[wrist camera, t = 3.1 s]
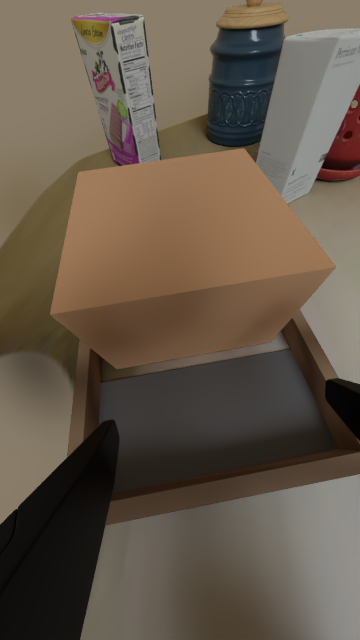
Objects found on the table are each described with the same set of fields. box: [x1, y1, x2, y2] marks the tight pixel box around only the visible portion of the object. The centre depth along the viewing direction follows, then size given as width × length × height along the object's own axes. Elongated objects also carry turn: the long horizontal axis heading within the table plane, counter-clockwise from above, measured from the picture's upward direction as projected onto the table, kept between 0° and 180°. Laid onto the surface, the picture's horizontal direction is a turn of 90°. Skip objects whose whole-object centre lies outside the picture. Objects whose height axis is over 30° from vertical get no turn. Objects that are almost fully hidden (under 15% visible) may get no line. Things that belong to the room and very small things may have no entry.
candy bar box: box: [71, 13, 161, 166], centre depth 32 cm, size 11×5×16 cm, turn 40°
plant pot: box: [316, 84, 360, 182], centre depth 29 cm, size 13×13×12 cm
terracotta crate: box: [50, 148, 336, 369], centre depth 18 cm, size 15×15×10 cm
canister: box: [207, 0, 289, 146], centre depth 36 cm, size 13×13×18 cm
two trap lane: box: [67, 309, 360, 525], centre depth 23 cm, size 42×20×3 cm, turn 9°
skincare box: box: [256, 29, 360, 204], centre depth 25 cm, size 8×6×15 cm
